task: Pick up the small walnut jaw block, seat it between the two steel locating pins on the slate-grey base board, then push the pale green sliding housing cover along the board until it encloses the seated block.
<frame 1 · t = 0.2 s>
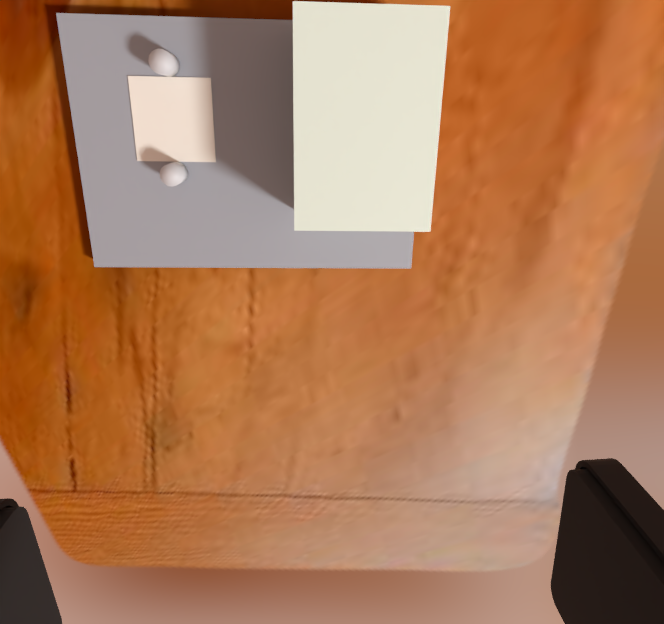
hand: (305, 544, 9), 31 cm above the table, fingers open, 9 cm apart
housing cover: (360, 124, 31), point 5 cm above the table, slide at 0.0 cm
base board: (253, 152, 36), on the table
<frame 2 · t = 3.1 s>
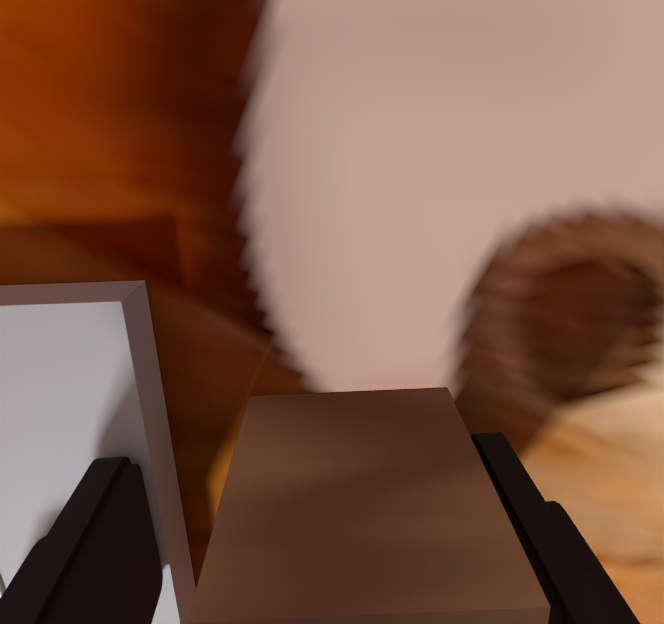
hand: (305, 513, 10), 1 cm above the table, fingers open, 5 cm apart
jaw block: (350, 473, 11), on the table, touching gripper
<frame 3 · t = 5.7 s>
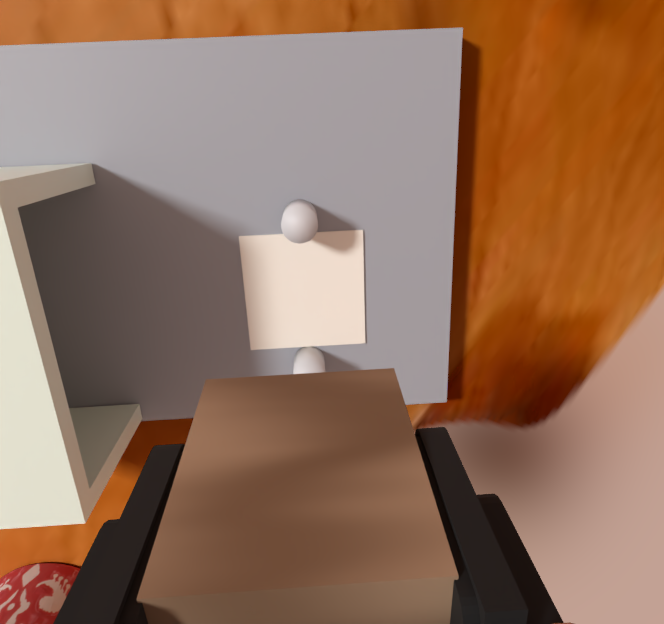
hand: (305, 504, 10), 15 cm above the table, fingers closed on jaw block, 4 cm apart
jaw block: (306, 448, 12), point 13 cm above the table, touching gripper
base board: (189, 246, 23), on the table
mug: (28, 596, 30), on the table
when the fingers open (3 cm above the table, at t = 8.0 s): jaw block stays where it is, resting on base board.
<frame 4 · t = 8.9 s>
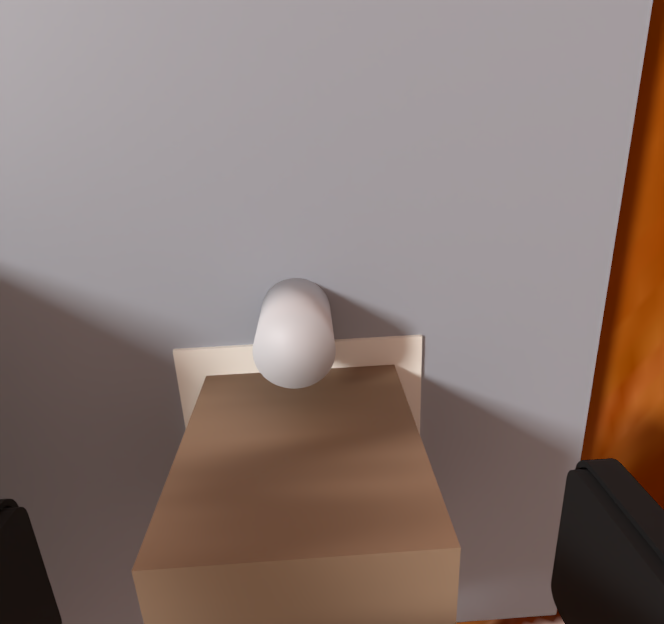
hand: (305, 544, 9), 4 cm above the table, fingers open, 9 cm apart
jaw block: (306, 449, 12), point 1 cm above the table, touching base board
base board: (86, 356, 12), on the table
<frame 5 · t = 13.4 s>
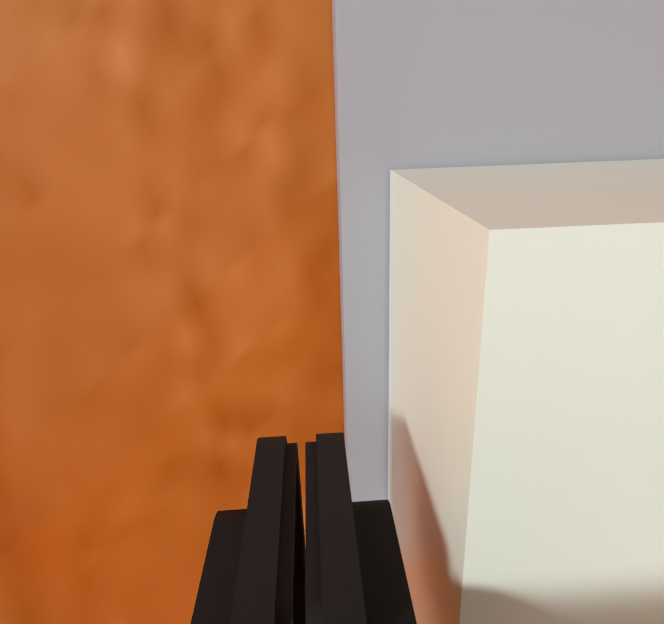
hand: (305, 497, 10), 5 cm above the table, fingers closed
housing cover: (603, 463, 11), point 5 cm above the table, slide at 0.6 cm, touching gripper
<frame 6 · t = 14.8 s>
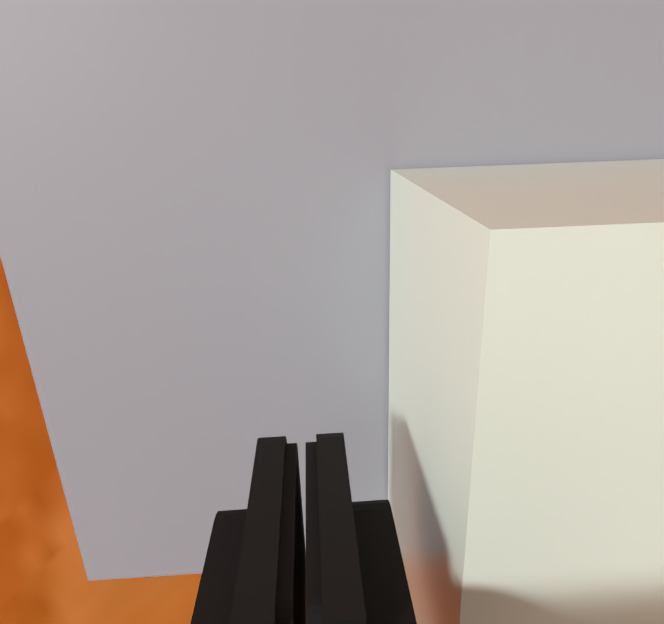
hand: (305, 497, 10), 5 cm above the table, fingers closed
housing cover: (603, 464, 11), point 5 cm above the table, slide at 8.7 cm, touching gripper
base board: (466, 302, 14), on the table
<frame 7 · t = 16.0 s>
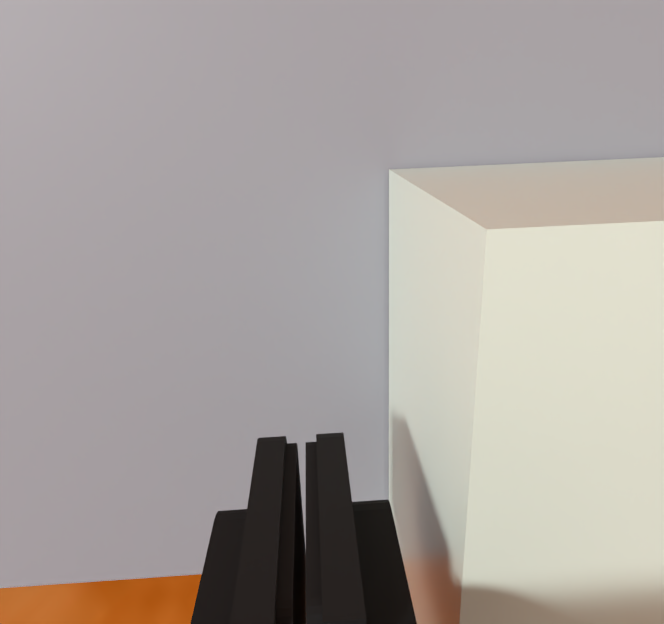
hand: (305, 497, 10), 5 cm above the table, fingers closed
housing cover: (603, 462, 11), point 5 cm above the table, slide at 13.1 cm, touching gripper
base board: (307, 310, 14), on the table
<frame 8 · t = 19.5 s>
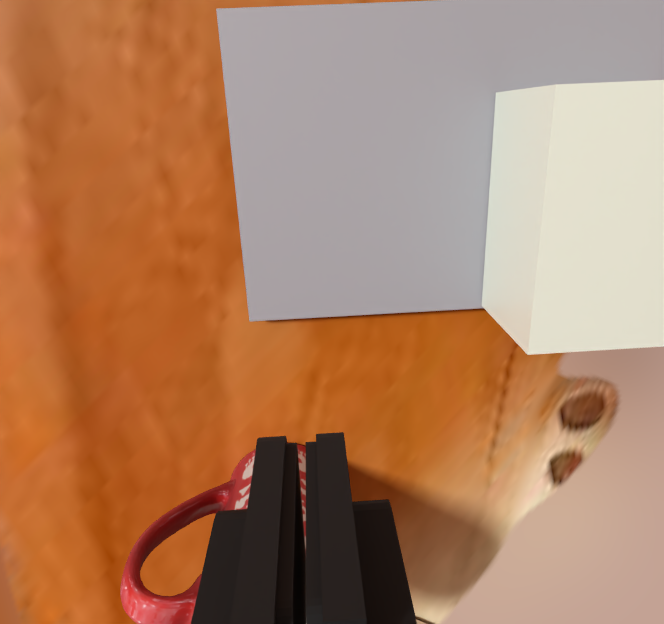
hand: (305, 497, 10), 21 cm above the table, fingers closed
housing cover: (591, 213, 25), point 5 cm above the table, slide at 13.2 cm
base board: (443, 169, 29), on the table
mug: (261, 474, 36), on the table
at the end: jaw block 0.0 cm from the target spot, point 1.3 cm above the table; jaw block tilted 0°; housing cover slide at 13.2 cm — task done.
